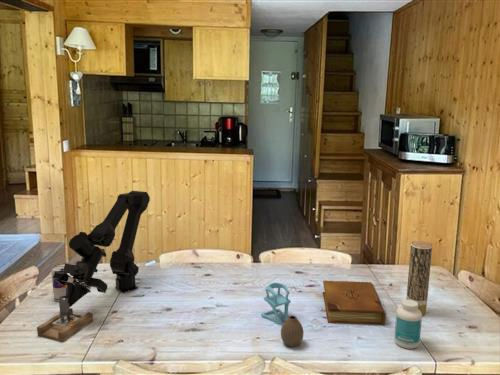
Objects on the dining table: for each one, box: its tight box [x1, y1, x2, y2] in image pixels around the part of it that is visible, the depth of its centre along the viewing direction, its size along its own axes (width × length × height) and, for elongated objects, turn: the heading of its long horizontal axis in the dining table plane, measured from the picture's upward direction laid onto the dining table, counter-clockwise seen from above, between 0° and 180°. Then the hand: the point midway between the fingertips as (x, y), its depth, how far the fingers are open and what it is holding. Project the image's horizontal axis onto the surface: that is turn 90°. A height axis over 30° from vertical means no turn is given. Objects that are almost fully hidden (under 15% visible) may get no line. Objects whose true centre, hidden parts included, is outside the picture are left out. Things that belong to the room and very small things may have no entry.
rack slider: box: [52, 296, 79, 330], centre depth 149 cm, size 6×6×10 cm
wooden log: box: [405, 240, 433, 316], centre depth 159 cm, size 7×7×25 cm
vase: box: [280, 315, 304, 348], centre depth 141 cm, size 7×7×9 cm
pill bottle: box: [393, 299, 423, 350], centre depth 140 cm, size 8×7×14 cm
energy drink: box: [51, 265, 68, 303], centre depth 169 cm, size 5×5×12 cm
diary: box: [322, 280, 387, 326], centre depth 164 cm, size 23×19×6 cm
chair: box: [260, 282, 291, 325], centre depth 156 cm, size 8×8×12 cm
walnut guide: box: [36, 307, 94, 343], centre depth 149 cm, size 14×10×3 cm
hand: (68, 306), depth 150 cm, fingers closed, pressing on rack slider
